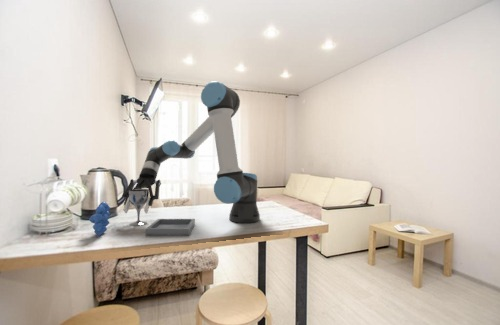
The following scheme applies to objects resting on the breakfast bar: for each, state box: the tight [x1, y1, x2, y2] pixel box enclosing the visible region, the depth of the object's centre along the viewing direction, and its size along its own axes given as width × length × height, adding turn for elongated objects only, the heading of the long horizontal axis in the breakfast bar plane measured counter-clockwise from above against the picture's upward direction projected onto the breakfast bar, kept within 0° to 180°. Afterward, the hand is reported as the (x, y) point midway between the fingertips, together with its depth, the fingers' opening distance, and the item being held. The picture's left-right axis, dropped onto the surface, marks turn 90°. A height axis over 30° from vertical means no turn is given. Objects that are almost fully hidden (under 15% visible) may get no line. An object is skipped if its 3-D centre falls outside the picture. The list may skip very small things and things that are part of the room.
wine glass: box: [129, 188, 150, 227], centre depth 101 cm, size 8×8×15 cm
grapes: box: [88, 201, 111, 237], centre depth 86 cm, size 12×7×12 cm, turn 16°
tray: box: [145, 218, 196, 237], centre depth 94 cm, size 16×15×3 cm
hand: (135, 211), depth 98 cm, fingers closed on wine glass, 8 cm apart
